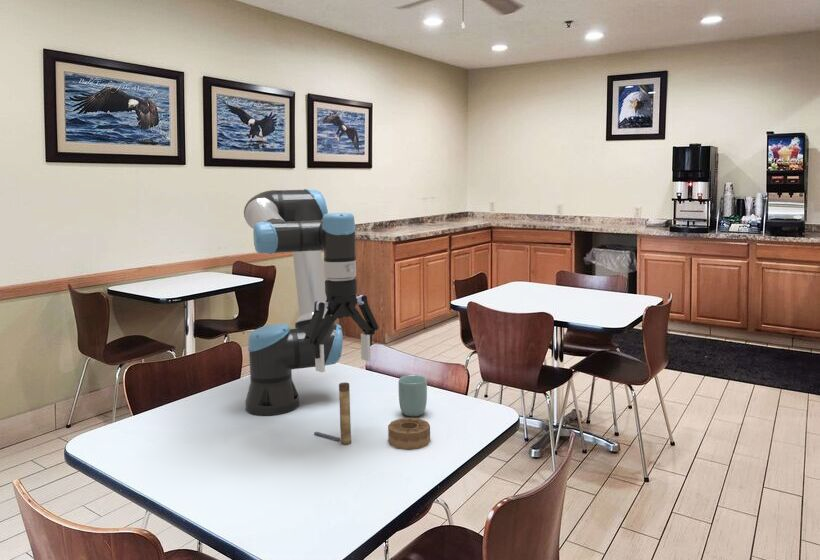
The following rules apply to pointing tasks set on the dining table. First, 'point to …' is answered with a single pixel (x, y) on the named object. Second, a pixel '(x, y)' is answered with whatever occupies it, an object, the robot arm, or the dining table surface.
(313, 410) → the dining table surface
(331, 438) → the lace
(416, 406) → the cup
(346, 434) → the wooden rod
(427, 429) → the bead
